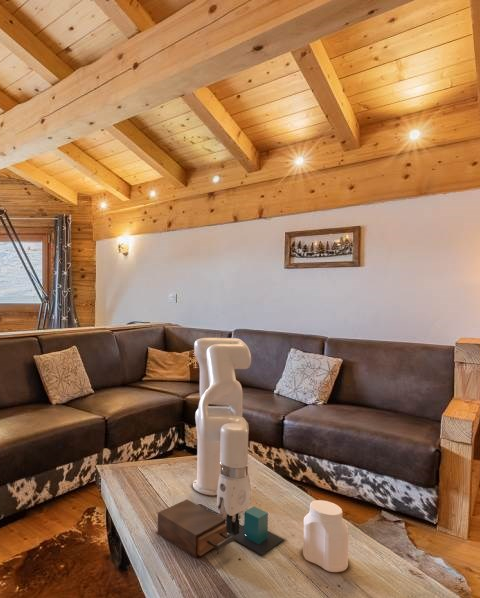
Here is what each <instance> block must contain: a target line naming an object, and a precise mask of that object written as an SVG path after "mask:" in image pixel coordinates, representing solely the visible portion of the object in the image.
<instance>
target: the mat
mask: <svg viewBox="0 0 480 598" xmlns="http://www.w3.org/2000/svg"><path fill="white" fill-rule="evenodd" d="M227 536H228V537H230V536H232V537H233V539H234V541H235V542H236V543H238V544H240V545H242V546H244V547H245V548H247V549H248V550H251V551H252V552H254V553H256V554H258V555H260V556H261V557H262V556H264V555H265V554H267V553H268V552H269V551H271V550H272V549H274V548H275V547H277V546H278V545H280V544H281V543H283V542H284V541H285V539H284V538H282V537H281V536H278V535H277V534H274V533H273V532H270V531H269V530H268V538H267V539H266V540H264V541H263V542H261V543H260V544H257V543H255V542H253V541H251V540H249V539H248V538H246V537H244V525H242V526H241V527H239V534H237V535H233V534H231V533H228V534H227Z"/></svg>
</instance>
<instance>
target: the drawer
mask: <svg viewBox="0 0 480 598" xmlns="http://www.w3.org/2000/svg"><path fill="white" fill-rule="evenodd" d="M234 541H235V540H234V539H233V537H232V536H230V537H228V531H227V530H226V522H225V523H223V524H221V525H220V526H219V525H218V526H217V527H215V528H213V529H211V530H209V531H208V532H206V533H204V534H202V535H200V536H199V537H198V538H197V554H198V555H200V556H199V557H201V556H203V555H204V554H206V553H208V552H209V551H211V550H213V549H214V550H215V551H217V552H218V551H220V550H222V549H223V548H225V547H227V546H228V545H230V544H231V543H233V542H234Z"/></svg>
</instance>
